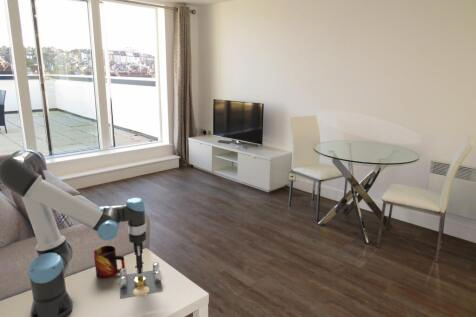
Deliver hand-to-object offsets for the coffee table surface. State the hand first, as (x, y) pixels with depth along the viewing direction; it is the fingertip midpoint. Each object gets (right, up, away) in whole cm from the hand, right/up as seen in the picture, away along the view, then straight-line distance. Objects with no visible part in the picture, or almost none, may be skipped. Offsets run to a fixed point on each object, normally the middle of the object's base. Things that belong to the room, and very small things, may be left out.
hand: (140, 278), depth 159 cm
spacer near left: (-6, -2, -5) cm, 8 cm away
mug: (-16, 0, +6) cm, 17 cm away
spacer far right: (+6, 0, +6) cm, 8 cm away
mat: (+1, -2, -2) cm, 3 cm away
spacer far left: (-8, -1, +1) cm, 8 cm away
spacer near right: (+8, -1, -1) cm, 8 cm away
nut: (+1, -2, -3) cm, 3 cm away
